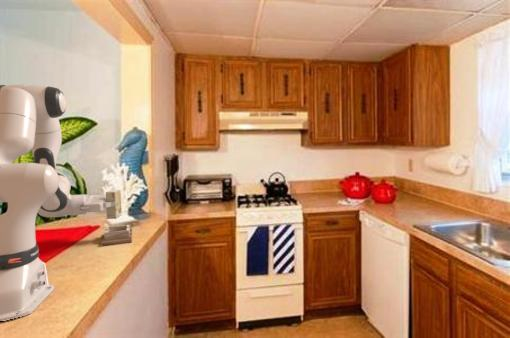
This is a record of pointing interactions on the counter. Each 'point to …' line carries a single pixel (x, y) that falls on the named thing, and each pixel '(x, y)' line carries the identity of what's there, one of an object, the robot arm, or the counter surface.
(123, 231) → the collar stand
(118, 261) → the counter surface
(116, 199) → the skincare box
